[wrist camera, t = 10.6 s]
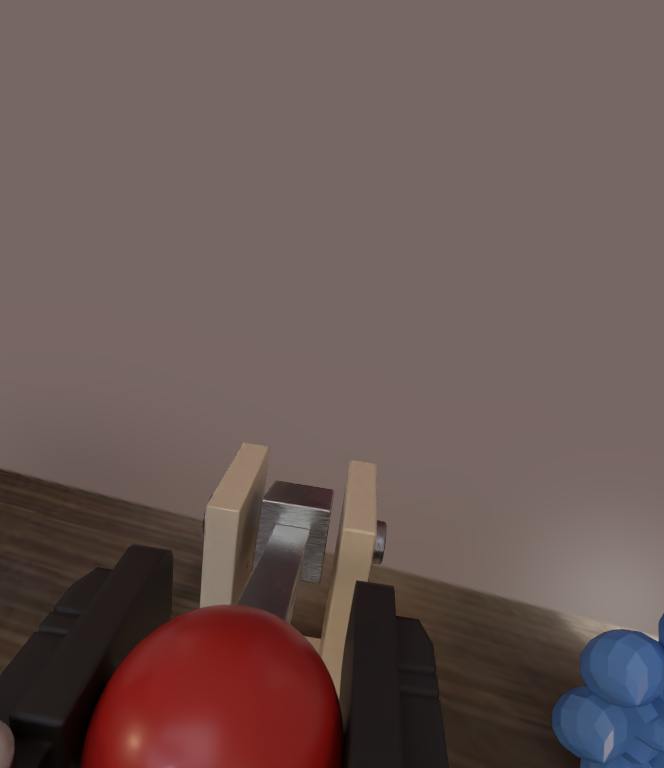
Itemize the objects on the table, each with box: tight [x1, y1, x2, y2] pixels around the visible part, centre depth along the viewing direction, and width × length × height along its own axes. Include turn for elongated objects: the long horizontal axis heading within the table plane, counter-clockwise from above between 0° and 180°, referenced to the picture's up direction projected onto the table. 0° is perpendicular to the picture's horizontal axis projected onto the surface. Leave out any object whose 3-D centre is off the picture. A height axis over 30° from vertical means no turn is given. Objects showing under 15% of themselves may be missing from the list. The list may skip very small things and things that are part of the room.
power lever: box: [81, 481, 344, 768], centre depth 12 cm, size 13×4×4 cm, turn 175°
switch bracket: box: [200, 443, 386, 699], centre depth 19 cm, size 12×10×14 cm
